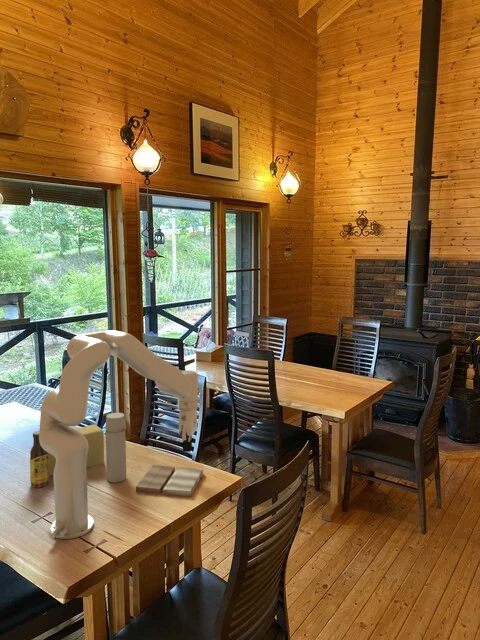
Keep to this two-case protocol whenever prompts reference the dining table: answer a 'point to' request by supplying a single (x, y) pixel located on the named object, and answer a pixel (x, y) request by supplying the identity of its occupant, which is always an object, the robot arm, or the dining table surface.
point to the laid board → (155, 479)
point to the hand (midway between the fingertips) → (187, 450)
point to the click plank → (183, 481)
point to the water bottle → (115, 447)
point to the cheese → (94, 447)
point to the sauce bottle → (38, 464)
